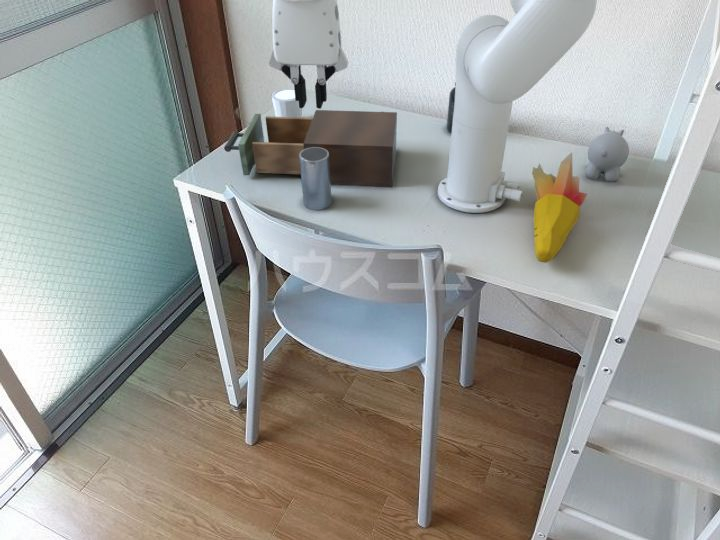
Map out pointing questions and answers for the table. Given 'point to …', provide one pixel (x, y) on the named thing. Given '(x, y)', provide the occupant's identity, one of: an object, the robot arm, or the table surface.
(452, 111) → the supplement bottle
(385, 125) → the cabinet
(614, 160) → the toy rhinoceros
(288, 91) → the white cylinder
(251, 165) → the drawer
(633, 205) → the table surface
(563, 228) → the torch
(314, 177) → the measuring cup
